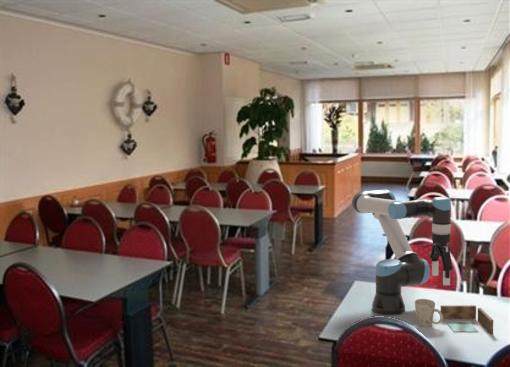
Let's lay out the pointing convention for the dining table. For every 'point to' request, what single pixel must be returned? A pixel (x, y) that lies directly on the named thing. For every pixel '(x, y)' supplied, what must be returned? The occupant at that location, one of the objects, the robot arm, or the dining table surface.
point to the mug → (426, 312)
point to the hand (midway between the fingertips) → (440, 280)
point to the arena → (466, 313)
